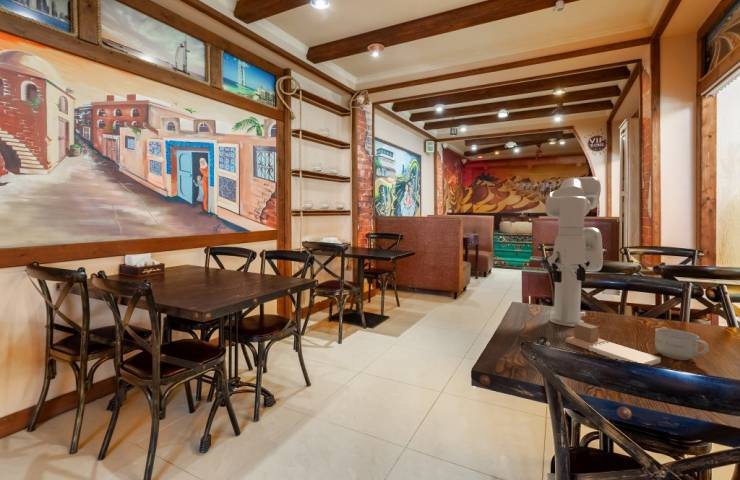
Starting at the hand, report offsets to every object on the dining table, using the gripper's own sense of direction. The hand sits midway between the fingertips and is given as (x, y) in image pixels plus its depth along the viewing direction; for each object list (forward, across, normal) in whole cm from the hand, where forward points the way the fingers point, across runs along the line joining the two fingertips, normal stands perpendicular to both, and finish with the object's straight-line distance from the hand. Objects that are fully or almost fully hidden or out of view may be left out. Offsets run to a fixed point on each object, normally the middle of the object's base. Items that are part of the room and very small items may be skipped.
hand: (569, 281), depth 127 cm
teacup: (+22, -24, +20) cm, 38 cm away
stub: (+22, -6, +2) cm, 23 cm away
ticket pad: (+22, -8, +15) cm, 28 cm away
